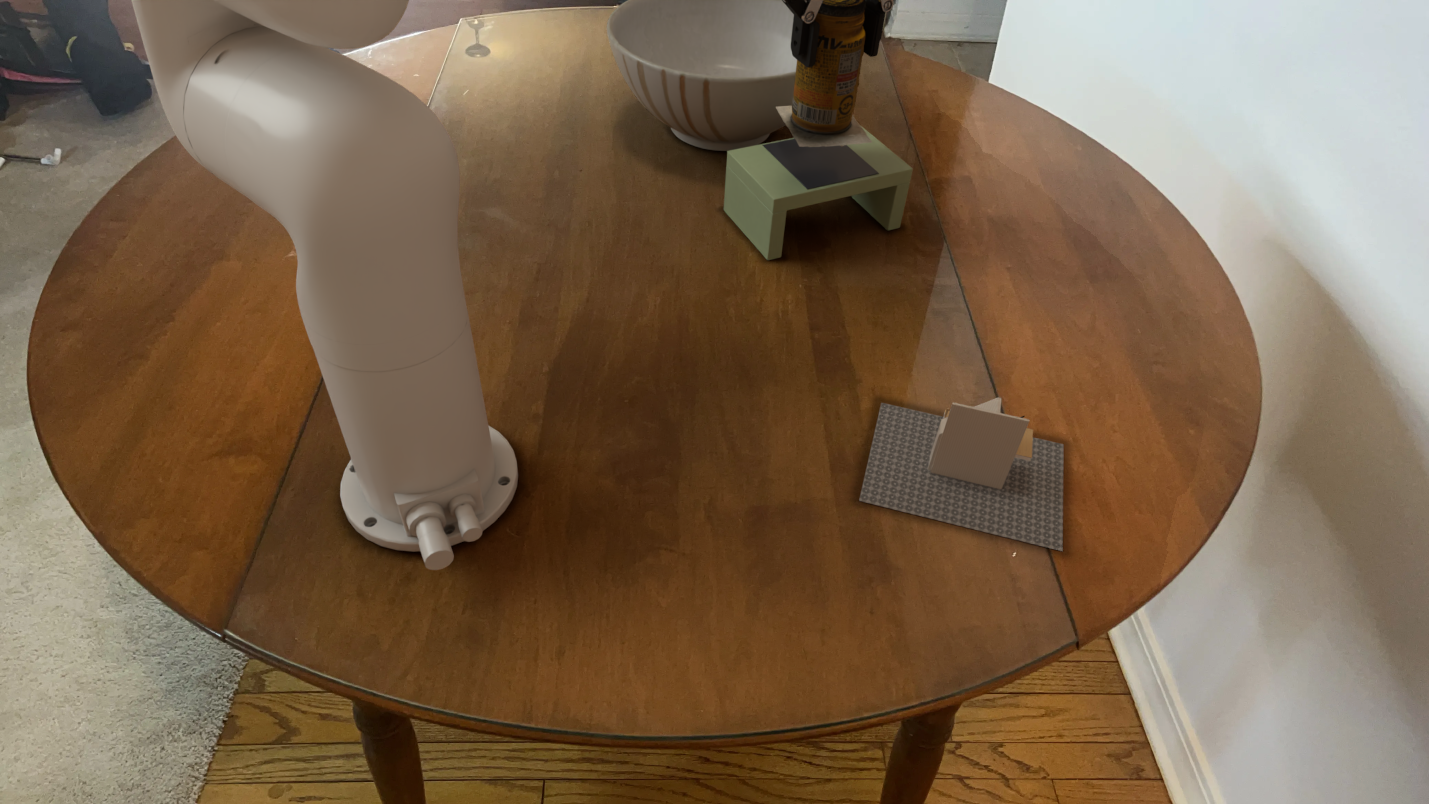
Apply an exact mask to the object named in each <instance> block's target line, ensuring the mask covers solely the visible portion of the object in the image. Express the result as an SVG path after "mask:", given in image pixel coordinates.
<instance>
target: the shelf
mask: <svg viewBox="0 0 1429 804" xmlns="http://www.w3.org/2000/svg"><path fill="white" fill-rule="evenodd" d="M860 126H861V127H862V128H863V130H864V131H865V132H866V134H867V136H868V137H869V138H870V140H871V141H872V143H861V144H849V145H844V146H842V147H841V146H827V147H825V146H821V147H808V146H806V147H799V145H798V143H797V141H796V140H795V139H794V137H790V138H785V139H781V140H780V139H779V140H775V141H771V142H766V143H765V142H764V143H760V144H758V145H755V146H750V147H745V148H740V149H735V150H730V151H726V167H725V181H724V196H723V197H724V199H723V211H724V213H725V214H726V215H727V216H728V217H729V218H730V220H731V221H733V223H734V224H735V226H736V227H738V228H739V230H740V231H741V232H742V233H743V234H744V235H745V237H746V238H747V239H748V240H749V241H750V242H751V243H752V244H753V246H754V247H755V248H756V250H758V251H759V253H760V254H761V255H762V256H763V257H764V258H765V259H766V261H770V260H771V261H772V260H775V259H776V260H777V259H779V258H782V255H783V253H782V252H783V246H784V245H783V244H784V237H785V229H786V228H785V227H786V220H787V219H786V218H787V211H791V210H795V209H800V208H804V207H809V206H813V205H817V204H822V203H826V202H831V201H835V200H839V199H844V198H848V197H851V198H852V199H853V200H854V201H855V202H856V203H857V204H858V205H859V206H860V207H862V209H864V211H866V212H867V213H868V214H869V215H870V216H871V217H872V218H873V219H874V220H876V222H878V224H880V225H881V226H882V227H883V228H884V229H885V230H886V231H892V230H893V231H894V230H897V229H900V228H901V225H902V220H903V216H904V210H905V207H906V202H907V197H908V192H909V188H910V184H911V179H912V175H913V170H914V169H913V167H911V165H909V164H908V163H907V162H906V161H904V160H903V159H902V158H901V157H899V156H898V155H897V154H896V153H895V152H893V151H892V150H891V149H890V148H888V147H887V146H886V145H885V144H884V143H883V142H882V141H880V139H877V137H875V136H874V135H873V134H872V133H870V132H869V131H868V130H867V129H866V128H865V127H863V126H862V125H861V124H860Z"/></svg>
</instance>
